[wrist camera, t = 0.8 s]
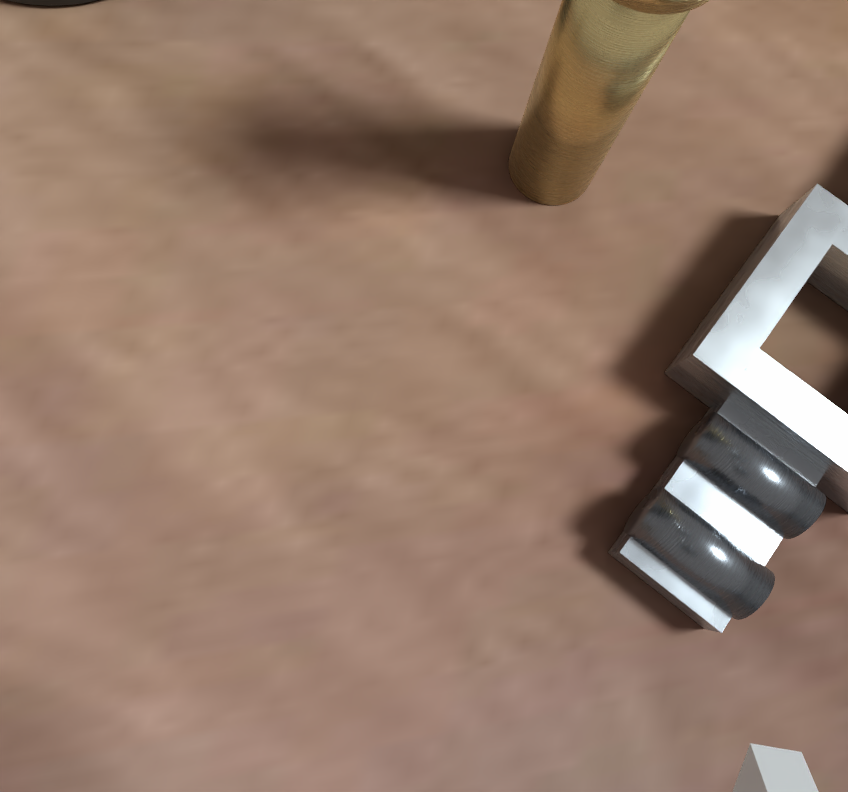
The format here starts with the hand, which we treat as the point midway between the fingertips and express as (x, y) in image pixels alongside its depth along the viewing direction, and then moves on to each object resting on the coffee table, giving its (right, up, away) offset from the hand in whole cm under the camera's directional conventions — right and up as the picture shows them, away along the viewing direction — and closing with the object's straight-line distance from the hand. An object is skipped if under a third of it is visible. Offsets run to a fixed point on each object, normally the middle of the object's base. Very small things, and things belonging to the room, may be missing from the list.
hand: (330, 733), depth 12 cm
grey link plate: (+19, +7, +21) cm, 29 cm away
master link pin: (+7, +16, +22) cm, 29 cm away
